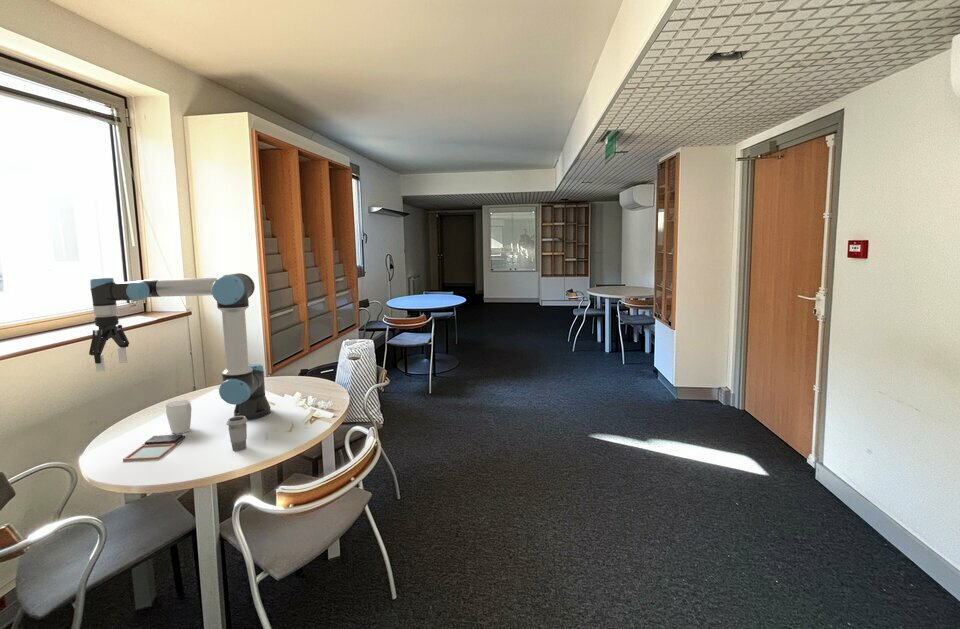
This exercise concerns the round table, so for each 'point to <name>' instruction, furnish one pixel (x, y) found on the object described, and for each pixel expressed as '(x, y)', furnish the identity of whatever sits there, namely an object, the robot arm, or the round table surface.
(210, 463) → the round table surface
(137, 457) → the print frame
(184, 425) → the cup
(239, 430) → the cup
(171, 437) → the ink pad
